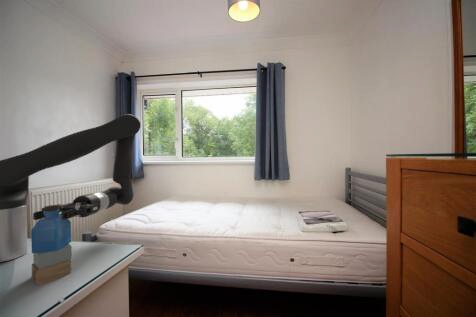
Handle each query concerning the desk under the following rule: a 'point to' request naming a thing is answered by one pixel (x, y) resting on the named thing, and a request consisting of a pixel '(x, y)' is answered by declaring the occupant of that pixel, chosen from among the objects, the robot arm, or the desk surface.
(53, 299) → the desk surface
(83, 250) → the desk surface
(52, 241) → the perfume bottle
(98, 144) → the robot arm
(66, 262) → the tower base block
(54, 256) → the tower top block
